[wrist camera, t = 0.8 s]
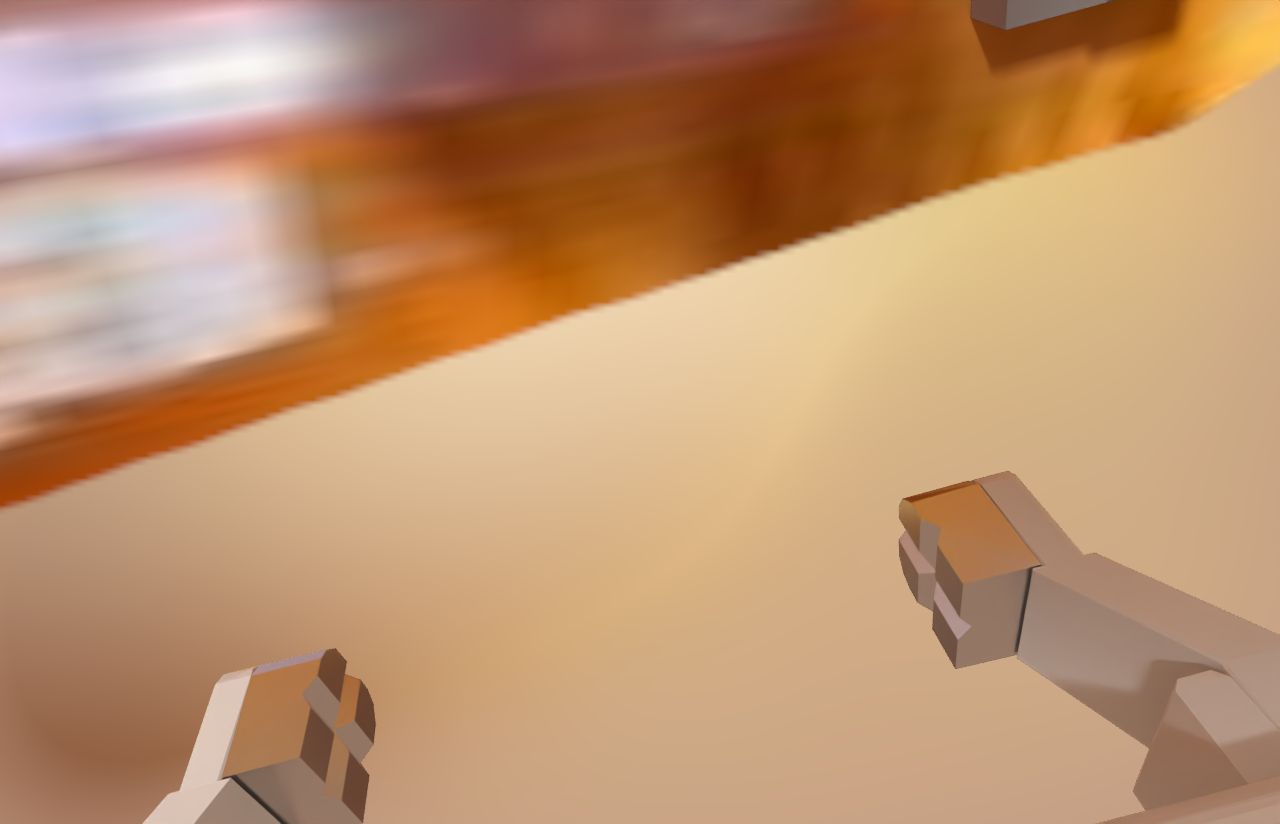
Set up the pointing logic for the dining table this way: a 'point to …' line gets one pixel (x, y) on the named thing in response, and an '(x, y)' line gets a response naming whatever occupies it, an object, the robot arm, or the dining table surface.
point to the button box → (1024, 10)
